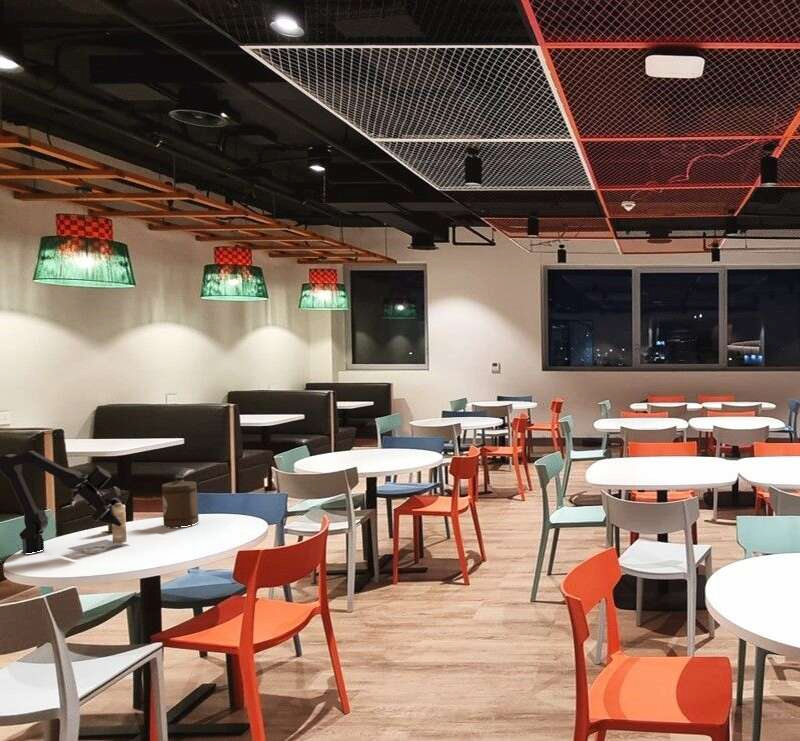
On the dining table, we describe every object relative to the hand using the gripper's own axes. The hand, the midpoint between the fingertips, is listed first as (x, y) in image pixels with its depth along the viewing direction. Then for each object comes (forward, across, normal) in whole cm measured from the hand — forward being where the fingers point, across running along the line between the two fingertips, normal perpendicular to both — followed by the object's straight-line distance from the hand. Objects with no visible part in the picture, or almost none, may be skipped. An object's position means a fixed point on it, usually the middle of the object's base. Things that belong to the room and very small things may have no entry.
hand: (122, 523), depth 286 cm
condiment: (-2, +29, +16) cm, 33 cm away
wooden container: (+16, +38, -3) cm, 41 cm away
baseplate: (0, 0, +13) cm, 13 cm away
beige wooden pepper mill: (+4, 0, +6) cm, 7 cm away
